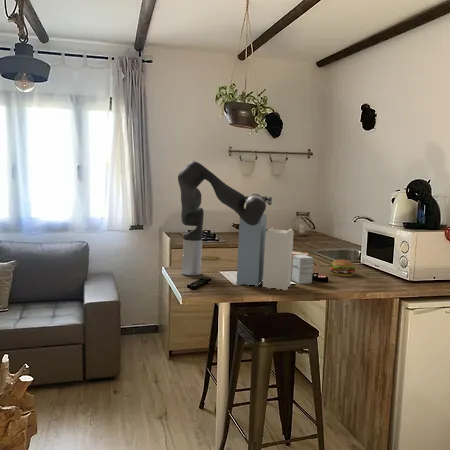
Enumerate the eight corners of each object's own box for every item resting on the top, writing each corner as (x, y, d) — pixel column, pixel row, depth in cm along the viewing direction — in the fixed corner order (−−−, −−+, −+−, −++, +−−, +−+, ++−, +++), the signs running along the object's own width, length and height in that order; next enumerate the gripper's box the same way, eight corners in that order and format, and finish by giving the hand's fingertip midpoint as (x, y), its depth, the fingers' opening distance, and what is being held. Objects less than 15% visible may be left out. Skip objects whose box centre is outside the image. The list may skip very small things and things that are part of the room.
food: (358, 278, 245) (359, 263, 244) (330, 276, 247) (331, 261, 247) (355, 272, 259) (356, 258, 258) (328, 271, 261) (329, 256, 260)
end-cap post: (286, 290, 213) (290, 231, 210) (262, 287, 216) (265, 229, 213) (290, 284, 224) (293, 228, 221) (267, 282, 227) (270, 227, 224)
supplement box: (291, 280, 234) (292, 254, 232) (304, 279, 236) (306, 254, 235) (298, 283, 227) (300, 257, 225) (312, 283, 229) (313, 257, 228)
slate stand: (257, 286, 218) (261, 214, 214) (236, 284, 221) (239, 213, 217) (263, 280, 230) (267, 212, 227) (243, 278, 233) (246, 211, 229)
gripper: (238, 212, 201) (240, 206, 217) (272, 213, 199) (271, 206, 215) (237, 195, 199) (240, 189, 215) (272, 195, 198) (271, 189, 214)
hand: (255, 198), depth 215 cm, fingers open, 8 cm apart
